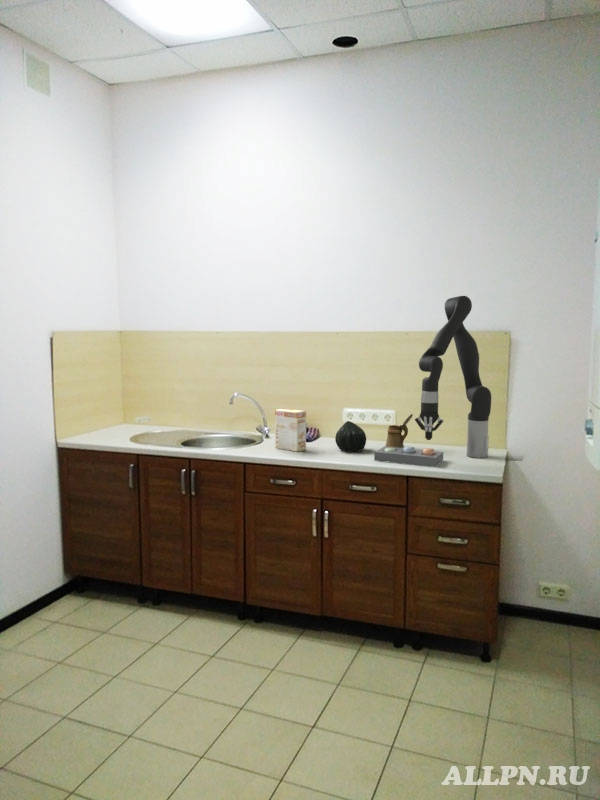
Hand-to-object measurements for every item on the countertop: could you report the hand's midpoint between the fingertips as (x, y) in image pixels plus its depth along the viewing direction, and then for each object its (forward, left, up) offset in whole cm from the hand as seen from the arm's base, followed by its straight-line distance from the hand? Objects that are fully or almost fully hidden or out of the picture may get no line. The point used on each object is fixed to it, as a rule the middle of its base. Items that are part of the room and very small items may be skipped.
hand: (428, 439), depth 274 cm
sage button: (+18, 0, -9) cm, 20 cm away
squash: (+41, -9, -11) cm, 43 cm away
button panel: (+9, 0, -10) cm, 14 cm away
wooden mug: (+21, -23, -11) cm, 33 cm away
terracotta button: (0, 0, -8) cm, 8 cm away
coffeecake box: (+69, +1, -11) cm, 70 cm away
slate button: (+9, 0, -8) cm, 12 cm away
